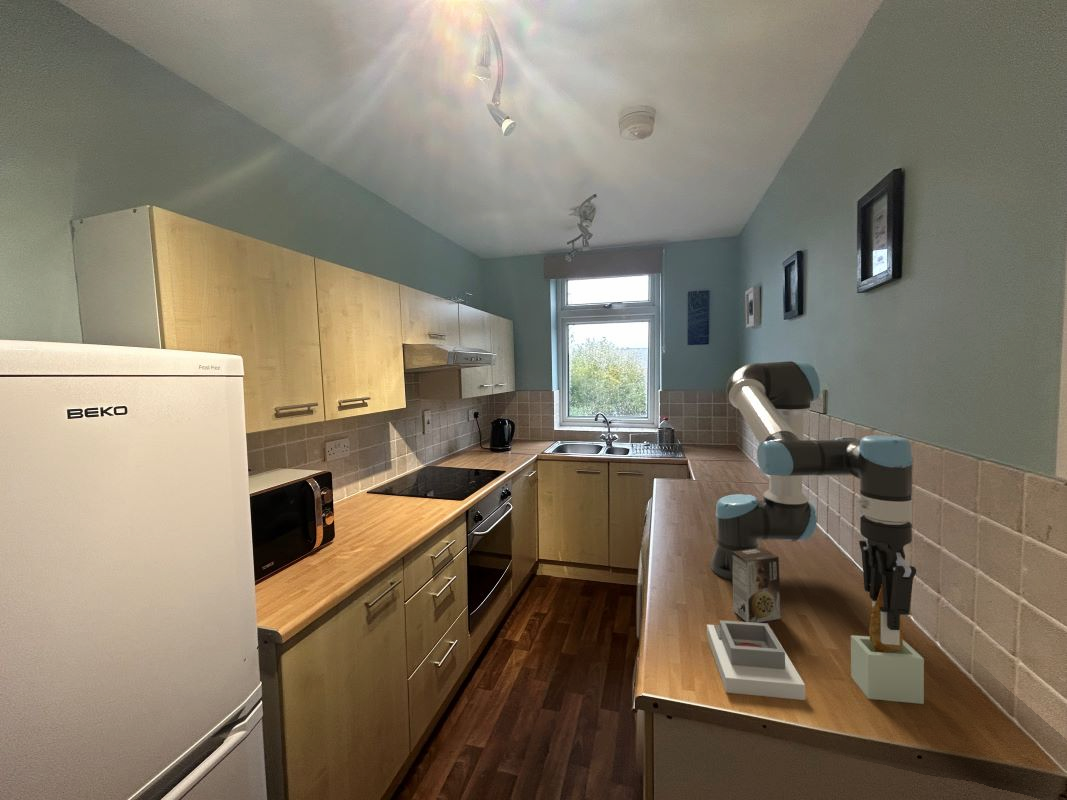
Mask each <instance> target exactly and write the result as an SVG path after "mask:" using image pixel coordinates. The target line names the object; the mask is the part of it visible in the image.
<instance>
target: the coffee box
mask: <svg viewBox="0 0 1067 800" xmlns="http://www.w3.org/2000/svg"><path fill="white" fill-rule="evenodd" d="M779 559H780V558H779V556H778V555H776V554H774V553H773V552H771V551H769V550H767V549H766V548H764V547H758V548H753V549H746V550H739V551H733V552H732V570H733V580H732V595H733V596H732V598H733V599H732V601H733V603H732V604H733V605H732V606H733V612H734V613H735V614H737V615H738V616H739V617H740V618H741V619H743V620H744V622H753V623H764V622H769V621H774V620H780V619H781V617H782V616H781V592H780V586H781V585H780V561H779Z"/></svg>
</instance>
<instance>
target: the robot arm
mask: <svg viewBox="0 0 1067 800" xmlns="http://www.w3.org/2000/svg"><path fill="white" fill-rule="evenodd" d="M820 382H821V381H820V378H819V374H818V372H817V371H816V368H815V367H814V366H813V365H812V364H811V363H810V362H807V361H802V360H801V361H793V360H791V361H790V360H788V361H773V362H752V363H748V364H746V365H743V366H742V367H739V368H738V369H737V370H736V371H734V372H733V373H732V375H731V376H730V378H729V379H728V381H727V384H726V388H725V393H726V397H727V400H728V401H729V403H730V404H731V405H732V406H733V407H734V408H735V409H737V410H739V412H740V413H741V416H742V417H743V419H744V420H745V421H746V423H747V425H748V427H749V429H750V430H751V431H752V433H753V435H754V437H755V439H756V440H757V442H758V443H759V444H758V446H757V450H756V459H757V462H758V468H759V469H760V471H761V472H762V473H763V474H765V475H767V476H768V477H769V484H768V485H769V487H768V489H767V490H766V491H764V492H763V500H758V498H757V497H756V496H754V495H752V494H743V493H739V494H737V493H736V494H729V495H725V496H722V497H721V498H719V499H718V500H717V502H716V509H715V518H716V519H715V521H716V525H715V526H716V546H715V549H714V552H713V555H712V557H711V562H710V563H711V565H710V566H711V570H712V572H714V574H716V575H718V576H719V577H721V578H724V579H726V580H729V581H733V570H732V552H733V551H739V550H746V549H753V548H759V541H761V540H762V541H763V540H764V541H785V542H786V541H788V542H789V541H790V542H797V541H808V540H809V539H811V538H812V537H813V535H814V534H815V533H816V529H817V523H818V522H817V521H818V520H817V519H818V518H817V515H816V508H815V506H814V504H812V502H811V501H809V497H808V496H806V495H805V494H804V493H803V481H804V480H803V476H805V477H807V476H808V477H809V476H821V477H822V476H825V477H827V476H828V477H829V476H839V477H840V476H848V477H849V476H850V477H853V478H854V477H855V478H857V479H859V485H860V487H859V488H860V491H859V492H860V500H858V504H859V505H860V513H861V514H862V516H860V518H859V521H860V526H859V527H860V534H861V536H862V537H863V538H865V539H867V540H859V541H858V542H859V543H858V544H859V548H860V552H861V560H862V561H861V562H862V563H861V564H862V573H863V587H864V588H863V589H864V591H866V592H869V598H870V600H872V601H871V602H872V603H871V607H873V606H874V605H875V603H876V601H877V598H878V595H879V592H880V589H881V585H882V586H883V602H884V607H879V608H880V611H881V642H882V643H883V644H890V645H900V618H901V615H906V616H909V615H910V613H911V612H910V610H911V602H912V601H911V600H912V593H913V582H914V578H915V576H916V574H917V569H916V567H915V566H913V565H912V566H911V565H908V564H907V562H906V561H905V560H906V554H905V550H904V548H905V546H907V545H909V544H911V543H912V541H913V524H912V523H911V521H912V520H913V498H912V495H913V463H914V458H913V456H912V454H913V453H912V443H911V442H910V440H908V439H907V438H905V437H902V436H893V435H880V434H879V435H877V434H876V435H866V436H863V437H862V438H861V439H858V438H855V437H846V436H844V437H843V436H841V437H840V436H839V437H836V438H834V439H823V440H822V439H821V440H819V439H818V440H817V439H812V440H811V439H810V440H804V433H805V432H804V427H805V426H804V425H805V413H807V412H808V411H809V410H811V402H814V401H816V400H818V398H819V397H820V393H821V384H820Z"/></svg>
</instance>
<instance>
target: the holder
mask: <svg viewBox="0 0 1067 800" xmlns="http://www.w3.org/2000/svg"><path fill="white" fill-rule="evenodd" d="M902 640H903V646H902V649H901V651H899V652H895V653H883V652H876V651H875V648H874V646H873V645H872V644H871V641H870V636H867V635H854V634H851V635H850V677H851V679H853V681H854V682H855V683H856V685H857V687H859V689H860V690H861V691H862V692H863V695H864V696H865V697H866V698H867V699H868V700H881V701H887V702H897V703H898V702H900V703H908V704H909V703H910V704H920V705H924V703H925V691H924V690H925V688H924V687H925V685H924V684H925V659H924V657H923V656H922V655H921V654H919V653H918V652H917V650H915V649H914V648H913V647H912V646H911V645H909V643H908V642H906V640H905V639H903V638H902Z"/></svg>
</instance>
